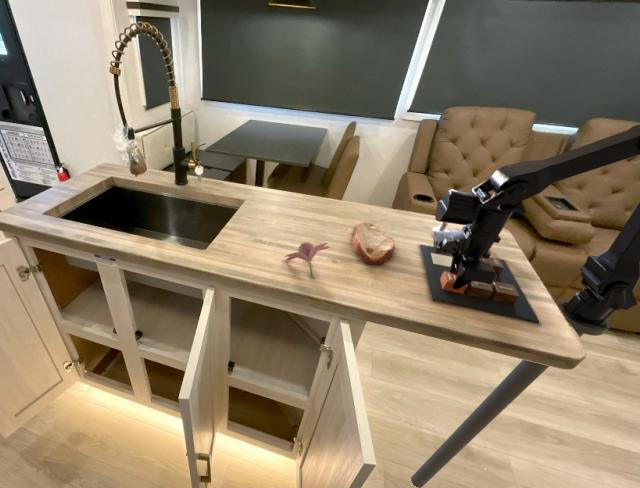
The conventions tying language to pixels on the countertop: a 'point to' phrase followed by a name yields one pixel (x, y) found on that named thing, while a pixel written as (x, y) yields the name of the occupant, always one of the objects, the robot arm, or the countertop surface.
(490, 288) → the chocolate piece
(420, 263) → the countertop surface
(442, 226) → the screw
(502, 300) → the tile
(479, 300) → the mat
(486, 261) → the chocolate chunk
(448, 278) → the tile
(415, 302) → the countertop surface
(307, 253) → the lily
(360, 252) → the slice of bread
